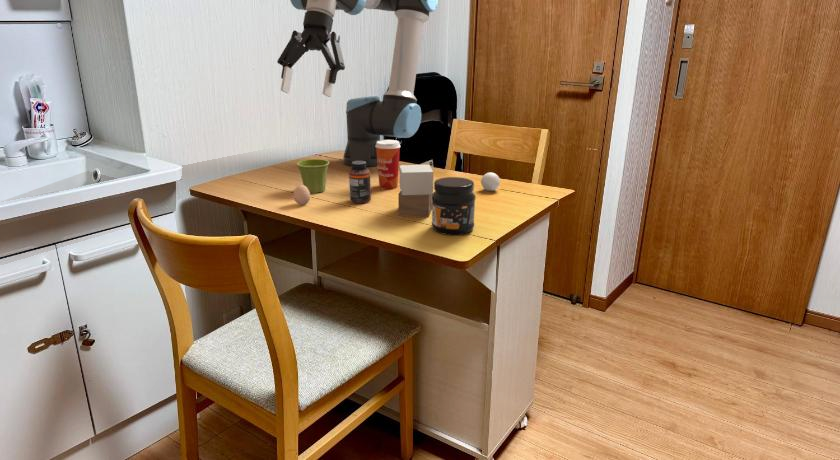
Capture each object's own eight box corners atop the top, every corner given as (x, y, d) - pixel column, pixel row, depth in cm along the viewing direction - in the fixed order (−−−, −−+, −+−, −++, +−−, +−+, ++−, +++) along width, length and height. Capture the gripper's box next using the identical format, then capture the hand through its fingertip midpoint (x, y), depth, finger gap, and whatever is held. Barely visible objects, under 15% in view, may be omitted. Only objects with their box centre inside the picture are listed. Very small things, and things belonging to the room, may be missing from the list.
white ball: (481, 187, 178) (482, 169, 176) (499, 188, 177) (500, 170, 175) (479, 194, 171) (479, 176, 169) (498, 195, 170) (499, 177, 168)
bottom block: (403, 206, 159) (403, 185, 157) (432, 208, 158) (432, 187, 156) (398, 216, 152) (398, 194, 150) (428, 217, 151) (428, 195, 149)
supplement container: (423, 231, 141) (423, 183, 136) (444, 219, 149) (445, 174, 145) (461, 239, 135) (463, 190, 131) (481, 226, 144) (483, 180, 140)
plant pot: (324, 196, 168) (322, 167, 165) (293, 194, 170) (291, 165, 167) (335, 187, 177) (333, 159, 174) (306, 185, 178) (304, 158, 175)
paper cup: (370, 186, 178) (369, 141, 173) (388, 182, 183) (388, 138, 178) (388, 191, 173) (387, 145, 168) (406, 186, 178) (406, 141, 173)
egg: (291, 204, 160) (290, 184, 158) (306, 201, 163) (305, 182, 161) (298, 208, 157) (297, 188, 155) (313, 205, 159) (312, 185, 158)
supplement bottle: (362, 196, 167) (360, 158, 164) (375, 201, 164) (374, 162, 160) (345, 201, 164) (344, 161, 160) (358, 205, 160) (357, 165, 156)
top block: (399, 186, 156) (399, 165, 154) (428, 186, 157) (429, 164, 155) (402, 195, 149) (402, 172, 147) (433, 194, 149) (433, 171, 147)
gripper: (273, 8, 155) (259, 86, 155) (352, 9, 144) (336, 92, 145) (290, 19, 162) (276, 94, 162) (366, 21, 151) (352, 100, 151)
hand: (305, 93), depth 153 cm, fingers open, 13 cm apart
